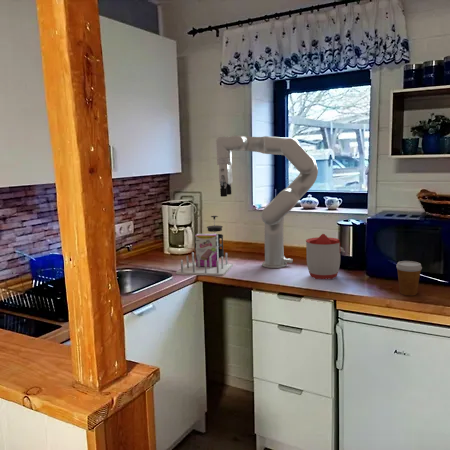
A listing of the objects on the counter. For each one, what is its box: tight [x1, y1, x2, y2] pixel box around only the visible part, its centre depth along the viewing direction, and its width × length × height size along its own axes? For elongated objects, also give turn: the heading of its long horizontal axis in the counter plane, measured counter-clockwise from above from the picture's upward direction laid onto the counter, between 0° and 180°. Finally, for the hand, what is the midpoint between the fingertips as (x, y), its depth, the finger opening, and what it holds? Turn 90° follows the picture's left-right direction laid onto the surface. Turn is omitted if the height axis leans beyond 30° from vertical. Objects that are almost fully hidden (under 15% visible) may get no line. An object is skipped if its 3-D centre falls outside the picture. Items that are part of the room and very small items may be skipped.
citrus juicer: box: [305, 233, 346, 280], centre depth 208 cm, size 16×17×20 cm
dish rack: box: [175, 251, 234, 277], centre depth 228 cm, size 24×19×7 cm
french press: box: [206, 215, 225, 259], centre depth 257 cm, size 12×9×23 cm
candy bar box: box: [194, 233, 220, 267], centre depth 231 cm, size 11×5×16 cm, turn 82°
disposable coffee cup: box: [396, 260, 423, 296], centre depth 181 cm, size 10×10×12 cm
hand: (226, 195), depth 233 cm, fingers open, 9 cm apart
